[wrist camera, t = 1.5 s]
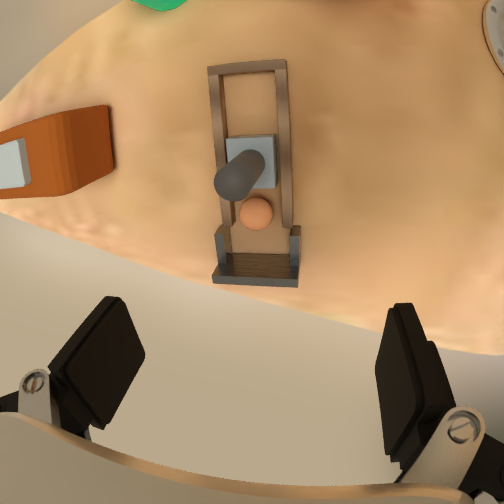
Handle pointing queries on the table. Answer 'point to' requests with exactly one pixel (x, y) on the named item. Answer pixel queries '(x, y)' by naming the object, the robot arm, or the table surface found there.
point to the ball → (255, 214)
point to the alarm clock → (55, 153)
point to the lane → (283, 124)
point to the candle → (160, 4)
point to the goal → (257, 263)
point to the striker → (247, 166)
